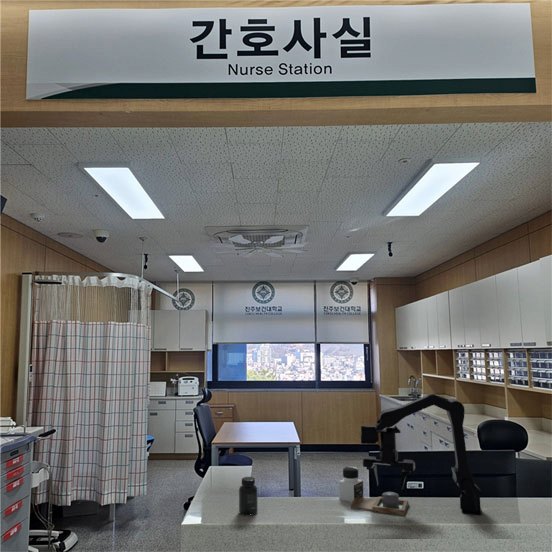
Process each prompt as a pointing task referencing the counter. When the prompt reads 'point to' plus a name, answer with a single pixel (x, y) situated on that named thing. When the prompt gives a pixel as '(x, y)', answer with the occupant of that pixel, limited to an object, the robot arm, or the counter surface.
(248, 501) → the supplement bottle
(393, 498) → the cap
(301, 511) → the counter surface
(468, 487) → the robot arm
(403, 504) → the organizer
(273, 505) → the counter surface
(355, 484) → the medicine bottle
